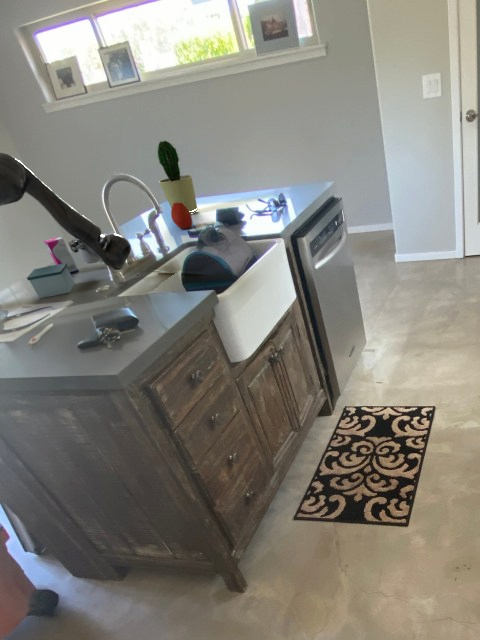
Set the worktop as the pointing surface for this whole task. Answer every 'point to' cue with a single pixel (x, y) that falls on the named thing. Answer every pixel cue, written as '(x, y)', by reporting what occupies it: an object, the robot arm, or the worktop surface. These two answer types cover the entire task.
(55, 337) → the worktop surface
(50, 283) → the container
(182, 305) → the worktop surface
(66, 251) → the supplement box
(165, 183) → the potted cactus
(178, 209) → the red ovoid
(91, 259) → the beverage can
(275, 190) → the worktop surface
